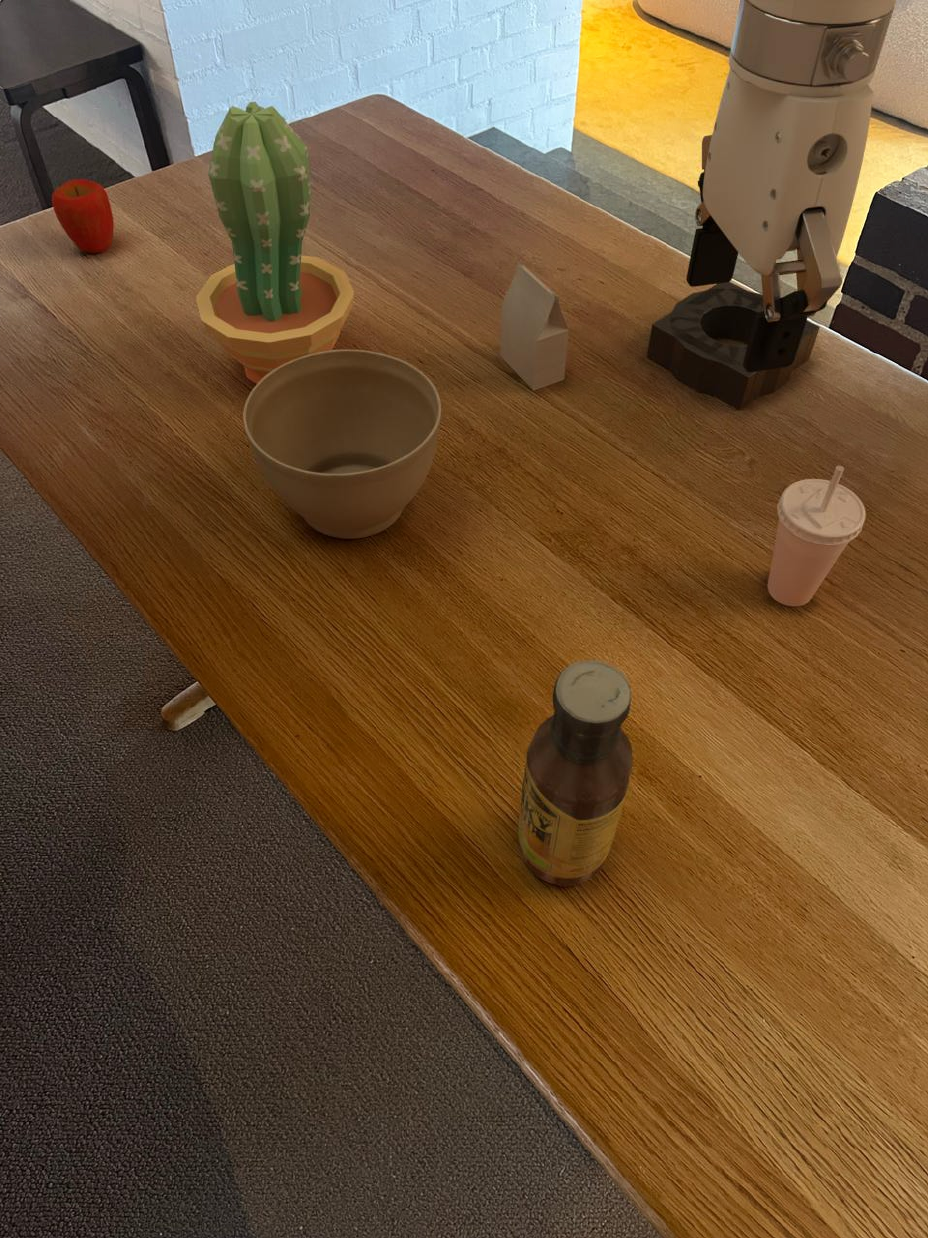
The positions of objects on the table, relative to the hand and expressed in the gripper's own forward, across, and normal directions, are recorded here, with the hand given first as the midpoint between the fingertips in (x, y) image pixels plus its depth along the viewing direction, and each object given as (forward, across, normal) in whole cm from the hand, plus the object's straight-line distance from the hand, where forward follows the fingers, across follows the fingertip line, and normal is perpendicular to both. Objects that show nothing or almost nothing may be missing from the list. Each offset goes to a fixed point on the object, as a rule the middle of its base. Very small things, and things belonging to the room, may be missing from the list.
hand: (736, 322), depth 63 cm
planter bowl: (+24, +14, +26) cm, 38 cm away
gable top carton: (+24, +29, +5) cm, 38 cm away
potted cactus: (+24, +36, +29) cm, 52 cm away
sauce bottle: (+24, -23, +17) cm, 37 cm away
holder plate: (+24, +26, -16) cm, 39 cm away
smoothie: (+24, -5, -8) cm, 26 cm away
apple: (+24, +64, +49) cm, 84 cm away
